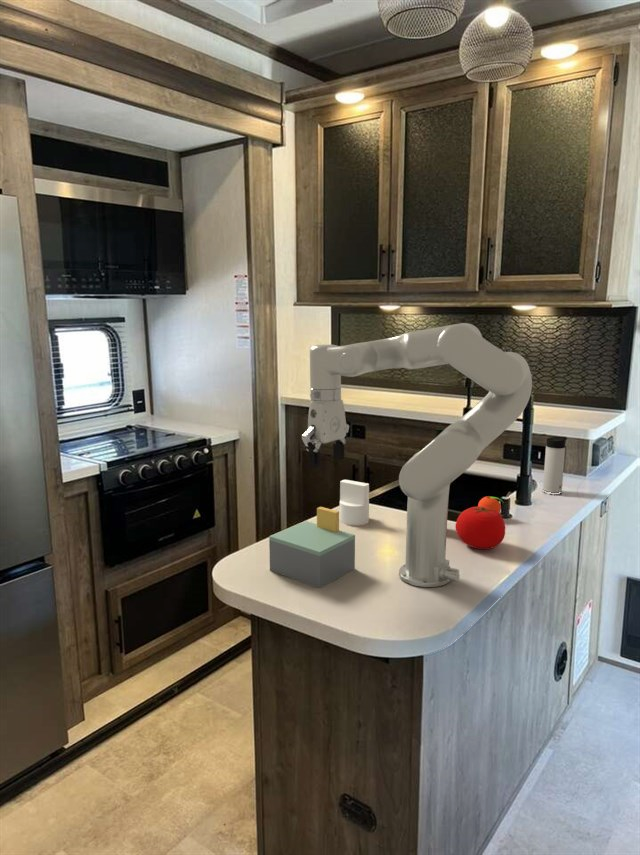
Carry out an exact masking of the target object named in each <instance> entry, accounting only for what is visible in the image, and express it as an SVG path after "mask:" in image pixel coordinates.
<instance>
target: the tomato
mask: <svg viewBox="0 0 640 855" xmlns="http://www.w3.org/2000/svg"><path fill="white" fill-rule="evenodd" d="M455 532H456V535H457V536H458V538H459V539H460V540H461V541H462V543H464V544H465V545H467V546H469V547H471V548H474V549H479V550H488V549H494V548H495V547H498V546H499V545H500V544H501V543H502V542H503V540H504V538H505V536H506V523H505V521H504V517H503V516H502V515H501V514H500V513H498V512H497V511H496V510H493V509H490V508H485V507H483V506H482V507H478V506H471V507H469V508H466V509H465V510H463V511H462V512H460V514H459V515H458V517H457V518H456V523H455Z"/></svg>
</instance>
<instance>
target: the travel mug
mask: <svg viewBox="0 0 640 855" xmlns="http://www.w3.org/2000/svg"><path fill="white" fill-rule="evenodd" d="M566 440H568V438H567V437H566V436H551V437H548V438H546V444H545V455H544V468H543V469H544V471H543V481H542V483H543V484H542V491H543V490H544V491H546V492H551V493H559V492H562V493H563V480H564V467H565V455H566V454H565V452H566Z"/></svg>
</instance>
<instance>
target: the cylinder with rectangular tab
mask: <svg viewBox="0 0 640 855" xmlns="http://www.w3.org/2000/svg"><path fill="white" fill-rule="evenodd" d="M369 498H370V483H368V482H367V483H366V482H361V481H355V480H350V479H342V480H340V483H339V523H341V524H344V525H347V526H362V525H366V524H368V523H369V520H370V499H369Z"/></svg>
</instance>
